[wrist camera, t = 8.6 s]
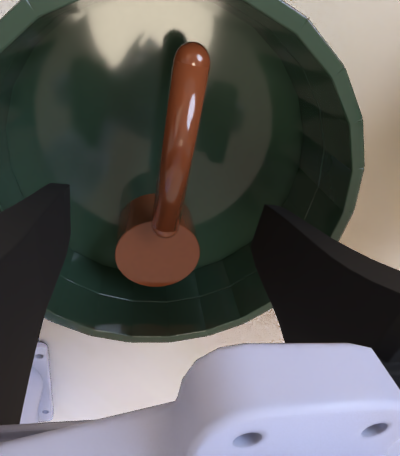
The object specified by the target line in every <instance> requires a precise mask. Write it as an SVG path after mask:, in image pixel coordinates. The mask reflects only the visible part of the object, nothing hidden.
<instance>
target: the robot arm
mask: <svg viewBox="0 0 400 456" xmlns="http://www.w3.org/2000/svg"><path fill="white" fill-rule="evenodd" d="M70 236H71V219H70V185H69V184H59V183H49V184H47V185H46V186H44V187H42V188H41V189H39V190H38V191H36V192H34V193H33V194H31V195H30V196H28V197H26V198H25V199H23V200H21V201H20V202H18V203H16V204H15V205H13V206H11V207H9V208H7V209H5V210H4V211H2V212H0V456H400V271H399V270H396V269H394V268H391V267H389V266H386V265H384V264H382V263H379V262H377V261H375V260H373V259H370V258H368V257H366V256H364V255H362V254H360V253H358V252H356V251H354V250H352V249H350V248H348V247H347V246H345V245H343V244H341V243H340V242H338V241H336V240H334V239H333V238H331V237H329V236H328V235H326V234H324V233H323V232H321V231H320V230H318V229H317V228H315V227H313V226H312V225H310V224H309V223H307V222H306V221H304V220H303V219H301V218H300V217H298V216H297V215H295V214H293V213H292V212H290V211H288V210H287V209H285V208H283V207H281V206H276V205H266V204H265V205H264V208H263V211H262V214H261V216H260V219H259V222H258V225H257V228H256V231H255V234H254V237H253V240H252V243H251V246H250V247H251V251H252V255H253V259H254V263H255V267H256V269H257V272H258V274H259V277H260V279H261V281H262V284H263V286H264V288H265V291H266V293H267V295H268V297H269V300H270V302H271V304H272V307H273V309H274V311H275V314H276V316H277V319H278V322H279V325H280V328H281V331H282V334H283V338H284V341H285V343H243V344H238V345H232V346H226V347H220V348H217V349H216V350H214V351H212V352H210V353H208V354H207V355H205V356H203V357H201V358H199V359H197V360H196V361H195V362H194V364H193V365H192V366H191V368H190V369H189V371H188V372H187V373H186V375H185V376H184V378H183V379H182V382H181V386H180V390H179V393H178V397H177V399H176V401H173V402H169V403H165V404H161V405H156V406H152V407H148V408H144V409H140V410H135V411H131V412H127V413H123V414H118V415H114V416H110V417H106V418H102V419H97V420H83V421H65V422H48V423H38V422H46V421H50V420H52V419H53V414H54V412H53V401H52V389H51V378H50V367H49V355H48V347H47V345H46V344H44V343H40V342H38V339H39V334H40V330H41V326H42V322H43V319H44V316H45V312H46V309H47V306H48V304H49V301H50V298H51V296H52V293H53V290H54V288H55V285H56V283H57V280H58V277H59V275H60V272H61V269H62V266H63V264H64V261H65V258H66V254H67V250H68V245H69V240H70Z"/></svg>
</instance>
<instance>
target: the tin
mask: <svg viewBox="0 0 400 456" xmlns="http://www.w3.org/2000/svg"><path fill="white" fill-rule="evenodd" d="M191 41H193V42H198V43H200V44H202V45H203V46H204V47H205V48H206V49H207V51H208V53H209V55H210V58H211V67H210V72H209V77H208V82H207V87H206V93H205V98H204V103H203V108H202V113H201V119H200V124H199V129H198V134H197V139H196V144H195V150H194V155H193V160H192V165H191V170H190V176H189V181H188V186H187V191H186V196H185V201H184V204H185V205H186V206H187V207H188V209H189V210H190V212H191V214H192V217H193V221H194V225H195V229H196V234H197V238H198V242H199V246H200V257H199V261H198V263H197V265H196V267H195V268H194V270H193V271H192V272H191V273H190V274H189V275H188V276H187V277H186V278H184V279H183V280H181V281H179V282H177V283H174V284H171V285H168V286H162V287H149V286H143V285H140V284H137V283H135V282H133V281H131V280H129V279H128V278H126V277H125V276H124V275H123V274H122V273H121V271H120V270H119V268H118V266H117V264H116V261H115V245H116V236H117V227H118V219H119V216H120V214H121V212H122V210H123V209H124V207H125V206H126V205H127V204H128V203H130V202H131V201H132V200H134V199H136V198H138V197H140V196H143V195H146V194H152V193H155V191H156V184H157V177H158V169H159V162H160V155H161V147H162V140H163V133H164V125H165V118H166V111H167V103H168V96H169V89H170V82H171V74H172V67H173V60H174V55H175V53H176V51H177V49H178V48H179V47H180V46H181V45H182V44H184V43H186V42H191ZM364 166H365V165H364V136H363V119H362V115H361V112H360V109H359V106H358V103H357V100H356V97H355V94H354V92H353V89H352V86H351V83H350V80H349V77H348V74H347V71H346V68H345V67H344V65H343V63H342V62H341V61H340V59H339V58H338V57H337V55H336V54H335V53H334V51H333V50H332V49H331V48H330V46H329V45H328V44H327V42H326V41H325V40H324V38H323V37H322V36H321V34H320V33H319V32H318V30H317V29H316V28H315V26H314V25H313V24H312V22H311V21H310V20H309V19H308V18H307V17H306V16H305V15H303V14H302V13H300V12H299V11H298V10H296V9H295V8H293V7H292V6H290V5H289V4H287V3H286V2H284V1H283V0H20V1H19V2H18V3H17V4H16V5H14V6H13V7H12V8H11V9H10V10H9V11H8V12H7V13H6V14H5V15H4V16H3V17H2V18H1V19H0V212H2V211H4V210H5V209H7V208H9V207H11V206H13V205H15V204H16V203H18V202H20V201H21V200H23V199H25V198H26V197H28V196H30V195H31V194H33V193H34V192H36V191H38V190H39V189H41V188H42V187H44V186H46V185H47V184H49V183H59V184H69V185H70V219H71V236H70V240H69V245H68V250H67V254H66V258H65V261H64V264H63V266H62V269H61V272H60V275H59V277H58V280H57V283H56V285H55V288H54V290H53V293H52V296H51V298H50V301H49V304H48V306H47V309H46V312H45V316H44V318H46V319H47V320H49V321H51V322H54V323H56V324H59V325H62V326H65V327H67V328H70V329H73V330H76V331H78V332H81V333H84V334H87V335H90V336H94V337H100V338H106V339H112V340H118V341H124V342H131V343H165V342H176V341H182V340H188V339H193V338H199V337H205V336H210V335H212V334H215V333H218V332H221V331H224V330H227V329H230V328H233V327H236V326H239V325H241V324H244V323H246V322H248V321H250V320H252V319H253V318H255V317H257V316H259V315H261V314H263V313H264V312H266V311H268V310H270V309H272V308H273V307H272V304H271V302H270V300H269V297H268V295H267V293H266V291H265V288H264V286H263V284H262V281H261V279H260V277H259V274H258V272H257V269H256V267H255V263H254V259H253V255H252V251H251V247H250V246H251V243H252V240H253V237H254V234H255V231H256V228H257V225H258V222H259V219H260V216H261V214H262V211H263V208H264V205H265V204H266V205H276V206H281V207H283V208H285V209H287V210H288V211H290V212H292V213H293V214H295V215H297V216H298V217H300V218H301V219H303V220H304V221H306V222H307V223H309V224H310V225H312V226H313V227H315V228H317V229H318V230H320V231H321V232H323V233H324V234H326V235H328V236H329V237H331V238H333V239H334V240H336V241H339V240H340V238H341V236H342V234H343V232H344V230H345V228H346V226H347V224H348V222H349V220H350V218H351V216H352V214H353V211H354V209H355V205H356V201H357V197H358V193H359V189H360V184H361V180H362V176H363V172H364Z"/></svg>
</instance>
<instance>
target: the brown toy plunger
mask: <svg viewBox="0 0 400 456" xmlns="http://www.w3.org/2000/svg"><path fill="white" fill-rule="evenodd" d="M210 67H211V58H210V55H209V53H208V51H207V49H206V48H205V47H204V46H203V45H202V44H200V43H198V42H193V41H191V42H186V43H184V44H182V45H181V46H180V47H179V48H178V49H177V51H176V53H175V55H174V60H173V67H172V74H171V82H170V89H169V96H168V103H167V111H166V118H165V125H164V133H163V140H162V147H161V155H160V162H159V169H158V177H157V184H156V191H155V193H152V194H146V195H143V196H140V197H138V198H136V199H134V200H132V201H131V202H130V203H128V204H127V205H126V206H125V207H124V209H123V210H122V212H121V214H120V216H119V219H118V227H117V236H116V245H115V261H116V264H117V266H118V268H119V270H120V271H121V273H122V274H123V275H124V276H125V277H126V278H128V279H129V280H131V281H133V282H135V283H137V284H140V285H143V286H149V287H162V286H168V285H171V284H174V283H177V282H179V281H181V280H183V279H184V278H186V277H187V276H188V275H189V274H190V273H191V272H192V271H193V270H194V268H195V267H196V265H197V263H198V261H199V257H200V246H199V242H198V238H197V234H196V229H195V225H194V221H193V217H192V214H191V212H190V210H189V209H188V207H187V206H186V205H185V204H184V201H185V196H186V191H187V186H188V181H189V176H190V170H191V165H192V160H193V155H194V150H195V144H196V139H197V134H198V129H199V124H200V119H201V113H202V108H203V103H204V98H205V93H206V87H207V82H208V77H209V72H210Z"/></svg>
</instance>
